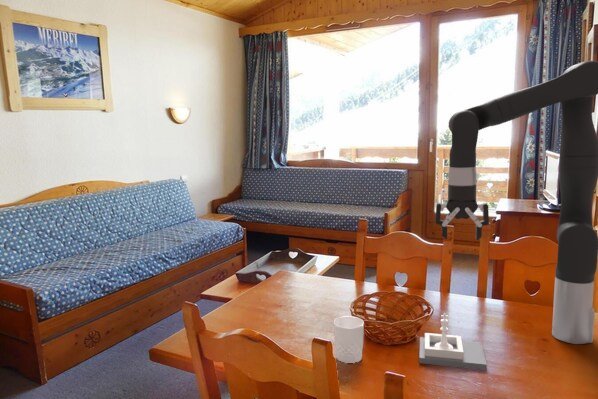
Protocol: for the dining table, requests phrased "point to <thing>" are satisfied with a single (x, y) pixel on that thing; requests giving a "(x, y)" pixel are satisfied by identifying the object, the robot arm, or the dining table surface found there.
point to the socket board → (451, 352)
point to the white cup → (348, 338)
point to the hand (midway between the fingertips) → (461, 239)
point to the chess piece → (444, 334)
